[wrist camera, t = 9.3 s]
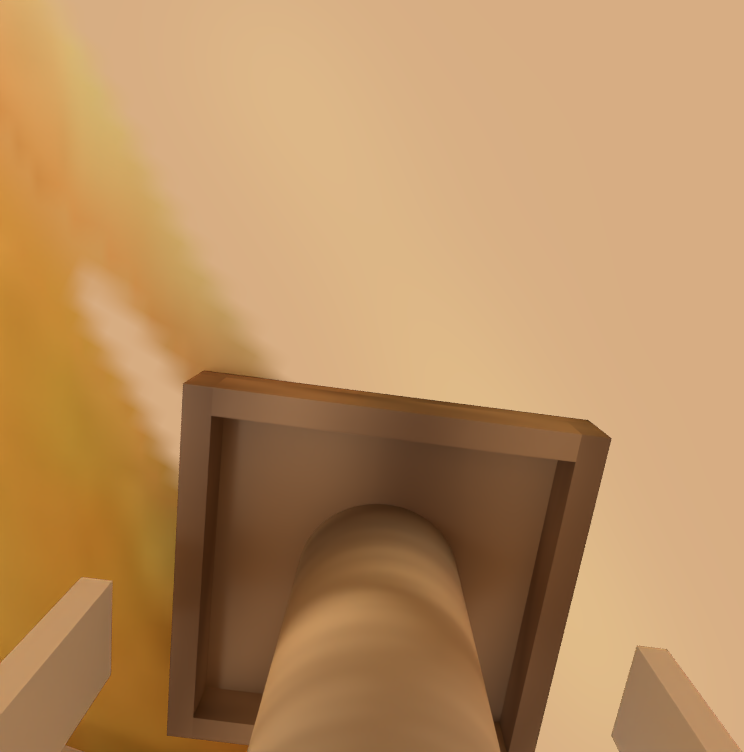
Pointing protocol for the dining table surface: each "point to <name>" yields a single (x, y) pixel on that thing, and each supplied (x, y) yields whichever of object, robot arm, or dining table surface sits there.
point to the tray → (360, 487)
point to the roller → (375, 645)
